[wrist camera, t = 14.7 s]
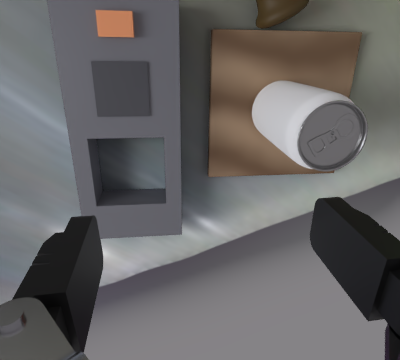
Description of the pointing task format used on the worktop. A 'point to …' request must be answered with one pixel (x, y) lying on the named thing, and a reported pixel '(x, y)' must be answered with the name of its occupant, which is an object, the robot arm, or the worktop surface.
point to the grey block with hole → (121, 103)
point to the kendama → (277, 11)
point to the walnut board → (261, 77)
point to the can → (310, 124)
